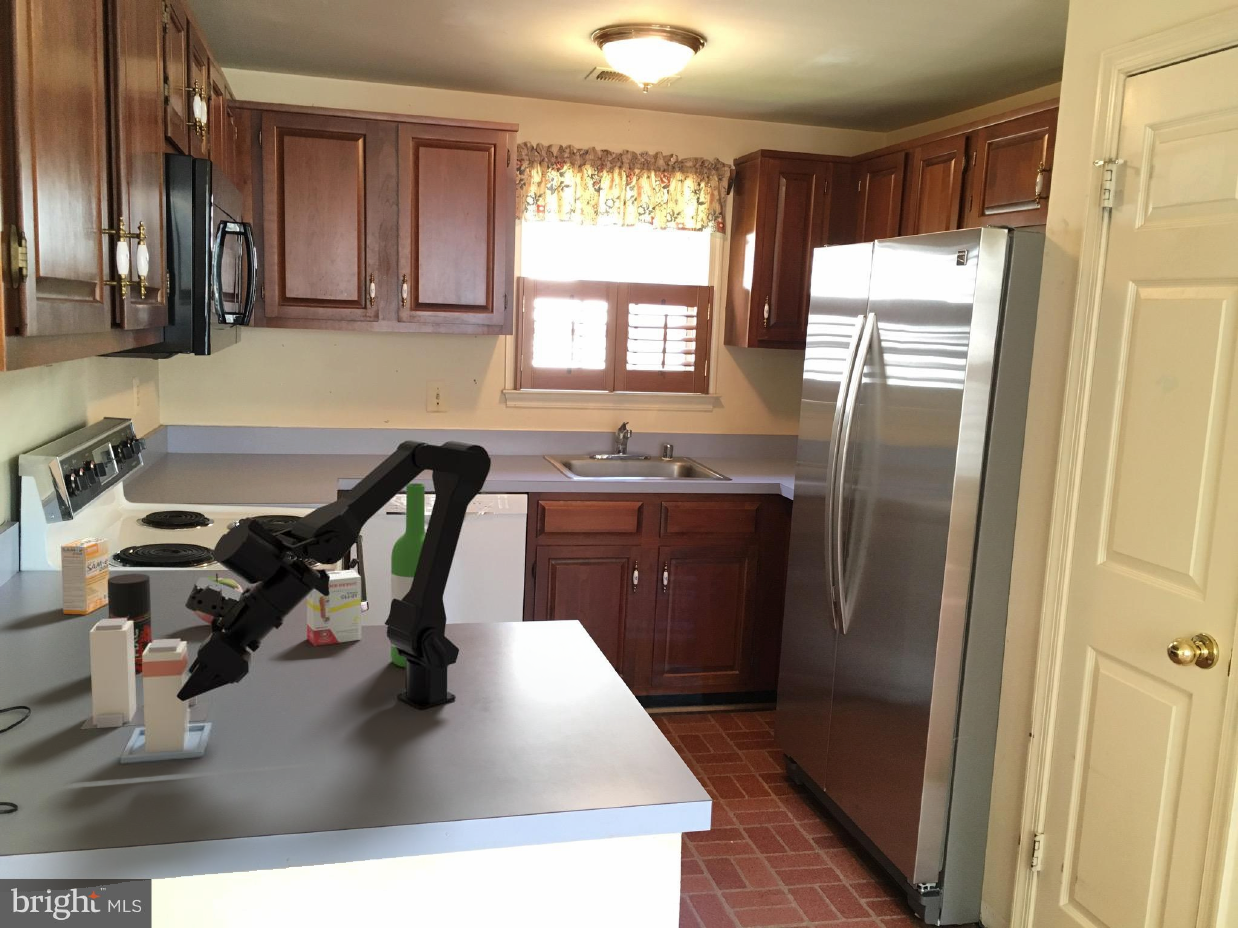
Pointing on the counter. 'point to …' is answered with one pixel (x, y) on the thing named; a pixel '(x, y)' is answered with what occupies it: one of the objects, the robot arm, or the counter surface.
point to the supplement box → (85, 575)
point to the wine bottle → (408, 550)
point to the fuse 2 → (165, 695)
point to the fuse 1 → (113, 668)
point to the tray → (192, 750)
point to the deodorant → (132, 608)
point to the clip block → (195, 708)
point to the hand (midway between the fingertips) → (185, 685)
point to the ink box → (335, 610)
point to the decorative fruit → (223, 581)
